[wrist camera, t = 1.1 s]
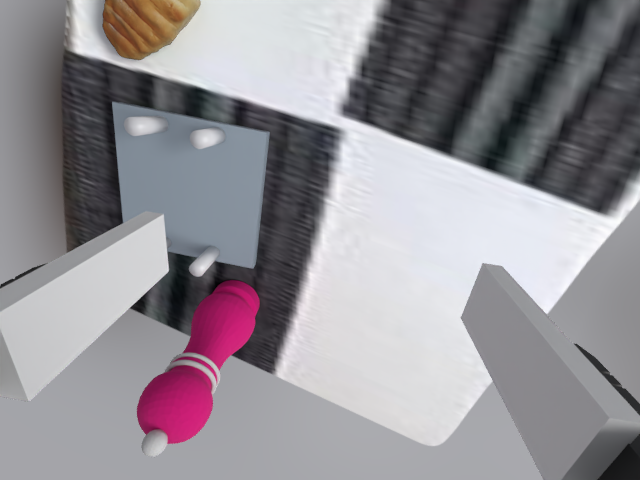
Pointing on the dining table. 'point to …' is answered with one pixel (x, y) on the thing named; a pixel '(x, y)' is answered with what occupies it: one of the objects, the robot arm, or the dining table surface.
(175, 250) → the tray
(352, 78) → the dining table surface
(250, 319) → the pepper mill
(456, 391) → the dining table surface
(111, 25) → the pastry
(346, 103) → the dining table surface
